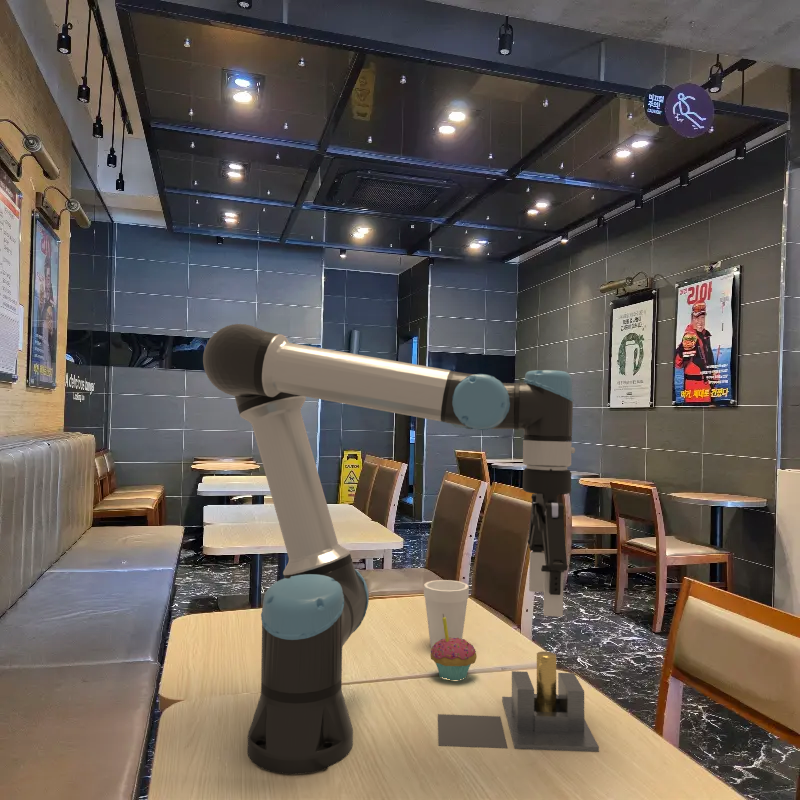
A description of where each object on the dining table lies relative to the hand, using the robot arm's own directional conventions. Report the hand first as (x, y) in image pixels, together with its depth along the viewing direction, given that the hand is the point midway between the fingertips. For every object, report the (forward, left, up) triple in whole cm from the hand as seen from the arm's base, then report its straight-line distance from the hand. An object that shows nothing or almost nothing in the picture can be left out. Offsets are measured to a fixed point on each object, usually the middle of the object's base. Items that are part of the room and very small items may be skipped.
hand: (544, 602), depth 100 cm
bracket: (0, 0, -19) cm, 19 cm away
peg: (0, 0, -18) cm, 18 cm away
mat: (-12, -3, -19) cm, 23 cm away
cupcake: (-14, +18, -19) cm, 30 cm away
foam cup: (-15, +34, -19) cm, 42 cm away
